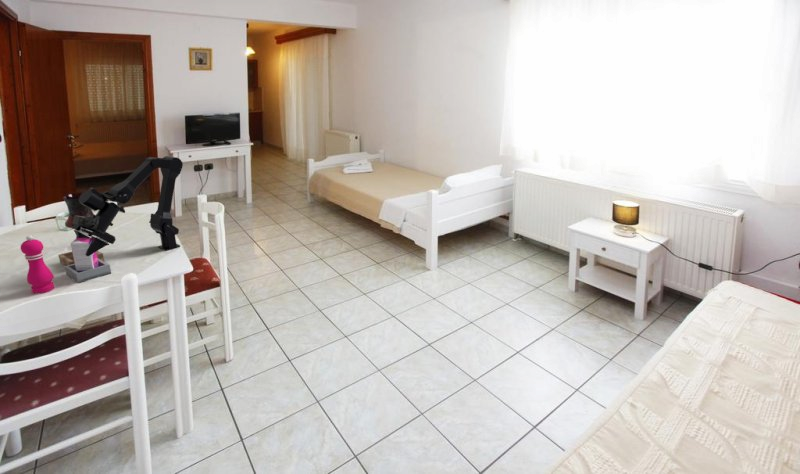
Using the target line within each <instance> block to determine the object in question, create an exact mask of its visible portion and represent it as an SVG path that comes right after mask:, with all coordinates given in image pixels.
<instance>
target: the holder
mask: <svg viewBox="0 0 800 474" xmlns="http://www.w3.org/2000/svg"><path fill="white" fill-rule="evenodd" d="M96 253H97V258H98V259H100V260H102V261H104V262H105V258H104V253H103V252H101V251H99V250H98V251H96ZM57 256H58V259H59V262H60V265H61V264H62V266H63V267H64V266H68V265H71V264H75V262H74V257H73V253H72V251H69V252H65V253H64V252H63V253H61V254H58V255H57Z"/></svg>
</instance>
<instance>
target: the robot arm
mask: <svg viewBox="0 0 800 474" xmlns="http://www.w3.org/2000/svg"><path fill="white" fill-rule="evenodd" d="M183 164H184V163H183V161H182V160H181V159H180V158H179V157H175V156H168V155H165V156H164V157H151V156H150V157H149V156H148V157H146V158H145V160H144V161H143V162H142V163H141V164H140V165H139V166H138V167H137V168H136V169H135V170H134V171H133V172H132V173H131V174H130V175H128V176H127V178H126V179H125V180H123V181H121V182H119V183H117V184H114V185H113V186H112V187H111V188H109V189H108V190H107V191H105V192H102V193H101V192H99V191H98V190H97V189H95V188H93V187H89V188H88V190H85V191H84V192H83V193H81V194H80V196H79V197H78V203H79V204H81V205H83V206H84V207H86V208H88V209H90V210H92V211H93V212H96V211H97V212H96V214H91V215H85V216H83V215H82V216H81V215H74V217H73V220H72V224H73V226H72V227H71V229H72V230H73V232H74V233H75V236H76V238H91V239H92V242H91V244H90V246H89V248H88V250H87V252H86V254H85V255H86V256H90V255H91V254H93V253H95V252H96V251H99V250H101V249H103V248H104V247H106V246H110V244H111V245H114V243H116V242H115V241H116V236H114V235H113V234H111V233H109V232H108V231H107V230H108V228H109V227H113V225H114V223H113V221H114V220H115V218H116V216H117V215H118V213H119V212H120V213H123V214H125V213H126V211H125V206H124V205H122V204H128V203H129V202H130V201H131V200H132V198H133V197H134V195H135V191H136V189H137V188H138V187H139V186H140V185H141V184H142V183H143V182H144V181H145V180H147V178H148V177H149V176H150V175H151V174H152V173H153V172H154V171H155V170H156V169H160V172H161V175H162V181H161V188H160V192H159V199H158V204H157V210H155V211H156V212H154V213H151V214H150V219H149V222H148V223H149V224H150V228H151V229H152V230H153V231H154V232H155V233H156V234H159V237H160V242H161V244H160V245H158V248H160V249H162V250H163V251H169V250H173V249H176V248H179V247H181V245H180V244H178V243H177V240H176V239H177V238H176V235H179V231H180V229H179V228H178V227H176V226H175V225H174V224H173V220H174V219H173V216H172V214H171V210H172V202H173V197H174V193H175V185H176V180H177V178H178V177H179V176H180V174H181V171H182V170H183V166H184V165H183ZM108 201H109V202H108ZM116 203H117V204H116ZM76 238H75V239H76Z"/></svg>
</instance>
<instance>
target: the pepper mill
mask: <svg viewBox="0 0 800 474" xmlns="http://www.w3.org/2000/svg"><path fill="white" fill-rule="evenodd" d="M43 250H44V244H43V242H42V241H40V240H39V239H34V237H33V236H32V235H27V236H26V238H25V241H23V242H22V243H21V244H20V251H21V253H23V254H24V260H26V261H27V264H28V271H27V275H26V280H27V283H28V284H29V285H30V286H31V287H30V288H31V292H32V294H36V293H37V294H38V293H40V294H45V293H49V292H51V291H53V290H54V289H55V283H54V282H53V280H54V274H53V272H52V270H51V269H50V268H49V267H48V266H47V264H46V263H45V261H44V256H45V254H44V252H43ZM38 295H39V294H38Z"/></svg>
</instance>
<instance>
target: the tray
mask: <svg viewBox="0 0 800 474" xmlns="http://www.w3.org/2000/svg"><path fill="white" fill-rule="evenodd" d="M98 263H99V265H98V266H97V267H96V268H93V269H90V270H86V271H83V272H77V271H76V267H75V264H71V265H68V266H64V265H63V267H64V271H65V275H66V276H67V277H68V278H70V279H72V280H73V281H75V282H76V283H77V284H80V283H83V282H86V281H87V282H88V281H90V280H94V279H97V278H100V277H103V276H108V275H111V274H112V270H111V265H110V264H109V263H107V262H106V261H105V260H104V261H102V260H100V259H98Z"/></svg>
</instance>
